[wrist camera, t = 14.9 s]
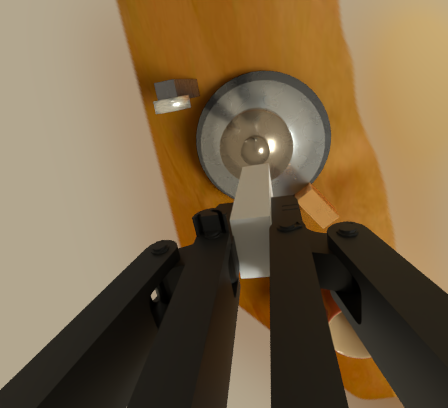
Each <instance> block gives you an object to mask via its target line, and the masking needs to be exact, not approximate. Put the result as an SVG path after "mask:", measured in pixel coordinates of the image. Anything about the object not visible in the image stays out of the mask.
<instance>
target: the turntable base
mask: <svg viewBox="0 0 448 408" xmlns="http://www.w3.org/2000/svg"><path fill="white" fill-rule="evenodd" d="M259 80H270V81H277V82H281V83H284V84H287V85H289V86H291V87H293V88H295V89H297V90H298V91H300V92H301V93H303V94H304V95H305V96H306V97H307V98H308V99H309V100H310V101H311V102H312V104H313V105H314V106H315V108H316V110H317V111H318V113H319V115H320V118H321V120H322V123H323V127H324V133H325V149H324V154H323V158H322V161H321V164H320V166H319V168H318V170H317V172H316V173H315V175H314V176H313V178H312V179H311V180H310V181H309V182H310V183H311V184H312V183H313V182H314V181H315V179H316V178H317V177H318V175H319V174H320V172H321V171H322V169H323V167H324V165H325V163H326V160H327V157H328V154H329V150H330V144H331V130H330V123H329V119H328V115H327V113H326V110H325V108H324V106H323V104H322V103H321V101H320V99H319V98H318V97H317V95H316V94H315V93H314V92H313V91H312V90H311V89H310V88H309V87H308V86H307V85H306V84H304V83H303V82H301V81H300V80H298V79H296V78H294V77H292V76H290V75H287V74H283V73H280V72H274V71H257V72H251V73H247V74H243V75H241V76H238V77H236V78H234V79H232V80H231V81H229V82H227V83H226V84H224V85H223V86H222V87H221V88H219V89H218V90H217V91H216V92H215V93H214V94H213V96H212V97H211V98H210V100H209V101H208V102H207V104H206V106H205V108H204V109H203V111H202V114H201V116H200V119H199V123H198V127H197V135H196V145H197V152H198V156H199V160H200V163H201V165H202V168H203V170H204V171H205V173H206V175H207V176H208V178H209V179H210V180H211V182H212V183H213V184H214V185H215V186H216V187H217V188H218V189H219V190H221V191H222V192H223V193H224V194H226V195H228V196H229V197H231V198H233V199H235V197H233V196H231V195H230V194H228V193H227V192H225V191H224V190H223V189H222V188H220V187H219V186H218V185H217V184H216V182H215V181H214V180H213V179H212V177H211V176H210V174H209V172H208V170H207V169H206V166H205V164H204V161H203V157H202V151H201V135H202V129H203V126H204V122H205V120H206V118H207V115H208V114H209V112H210V110H211V109H212V107H213V106H214V105H215V103H216V102H217V101H218V100H219V99H220V98H221V97H222V96H223V95H224V94H226V93H227V92H228V91H230V90H232V89H233V88H235V87H237V86H239V85H242V84H244V83H248V82H252V81H259ZM293 196H294V197H295V194H294V195H293Z"/></svg>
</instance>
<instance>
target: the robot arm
mask: <svg viewBox="0 0 448 408" xmlns="http://www.w3.org/2000/svg"><path fill="white" fill-rule="evenodd" d="M192 219H193V223H194V227H195V231H196V235H197V237H196V239H195V242H194V244H192V245H189V246H186V247H182V248H178V247H177V243H175V242H174V241H172V240H161V241H158V242H156V243H154V244H152V245H150V246H149V247H148V248H146V249H145V250H144V251H143V252H142V253H141V254H140V255H139V256H138V257H137V258H136V259H135V260H134V261H133V262H132V263H131V264H130V265H129V266H128V267H127V268H126V269H125V270H123V271H122V273H120V274H119V275H118V276H117V277H116V278H115V279H114V280H113V281H112V282H111V283H110V284H109V285H108V286H107V287H106V288H105V289H104V290H103V291H102V292H101V293H100V294H99V295H98V296H97V297H96V298H95V299H94V300H93V301H92V302H91V303H90V304H89V305H88V306H86V307H85V309H83V310H82V311H81V312H80V313H79V314H78V315H77V316H76V317H75V318H74V319H73V320H72V321H71V322H70V323H69V324H68V325H67V326H66V327H65V328H64V329H63V330H62V331H61V332H60V333H59V334H58V335H57V336H56V337H55V338H53V339H52V340H51V341H50V342H49V343H48V344H47V345H46V346H45V347H44V348H43V349H42V350H41V351H40V352H39V353H38V354H37V355H36V356H35V357H34V358H33V359H32V360H31V361H30V362H29V363H28V364H27V365H26V366H25V367H24V368H23V369H22V370H21V371H19V373H17V375H15V376H14V377H13V379H11V380H10V381H9V382H8V383H7V384H6V385H5V386H4V387H3V388H2V389H1V390H0V408H126V407H127V408H226V407H227V399H228V390H229V382H230V373H231V364H232V356H233V347H234V338H235V329H236V321H237V312H238V304H239V295H240V282H239V277H238V276H239V270H240V275H241V279H243V278H258V277H270V343H271V344H270V346H271V347H270V348H271V349H270V350H271V408H349V407H348V403H347V399H346V395H345V390H344V386H343V382H342V378H341V373H340V369H339V365H338V361H337V357H336V352H335V348H334V344H333V340H332V336H331V331H330V327H329V323H328V319H327V315H326V310H325V306H324V302H323V298H322V294H321V289H327V290H330V293H331V296H332V298H333V299H334V301H335V302H336V304H337V305H338V307H339V308H340V310H341V311H342V313H343V314H344V316H345V317H346V319H347V320H348V322H349V323H350V325H351V326H352V328H353V330H354V331H355V333H356V334H357V336H358V337H359V339H360V340H361V342H362V343H363V345H364V346H365V348H366V349H367V351H368V352H369V354H370V355H371V357H372V358H373V360H374V361H375V363H376V365H377V366H378V368H379V369H380V371H381V372H382V374H383V375H384V377H385V378H386V380H387V381H388V383H389V384H390V386H391V387H392V389H393V390H394V392H395V393H396V395H397V396H398V398H399V400H400V401H401V402H402V404H403V406H404V407H405V408H448V294H447V293H446V292H444V291H443V290H442V289H441V288H440V287H438V286H437V285H436V284H435V283H434V282H432V281H431V280H430V279H429V278H427V277H426V276H425V275H424V274H422V273H421V272H420V271H419V270H418V269H416V268H415V267H414V266H413V265H412V264H411V263H409V262H408V261H407V260H406V259H405V258H403V257H402V256H401V255H400V254H398V253H397V252H396V251H395V250H394V249H392V248H391V247H390V246H389V245H388V244H386V243H385V242H384V241H383V240H381V239H380V238H379V237H378V236H377V235H375V234H374V233H373V232H372V231H371V230H369V229H368V228H367V227H365V226H364V225H362V224H359V223H355V222H340V223H336V224H333V225H331V226H330V227H329V228H328V230H327V233H319V232H314V231H311V230H309V229H307V228H306V226H305V224H304V223H303V221H302V217H301V213H300V209H299V205H298V200H297V198H295V197H294V196H293V195H287V196H278V197H273V193H272V185H271V177H270V170H269V163H266V164H259V165H252V166H245V167H242V171H241V175H240V179H239V184H238V188H237V192H236V196H235V200H234V203H225V204H220V205H218V206H217V207H216V208H211V209H206V210H203V211H200V212H198V213H197V214H195V215H194V216H193V217H192ZM320 288H321V289H320ZM154 290H156V293H157V297H156V298H155V299H154V300H152V298H151V294H152V292H153V291H154ZM127 405H128V406H127Z"/></svg>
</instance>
